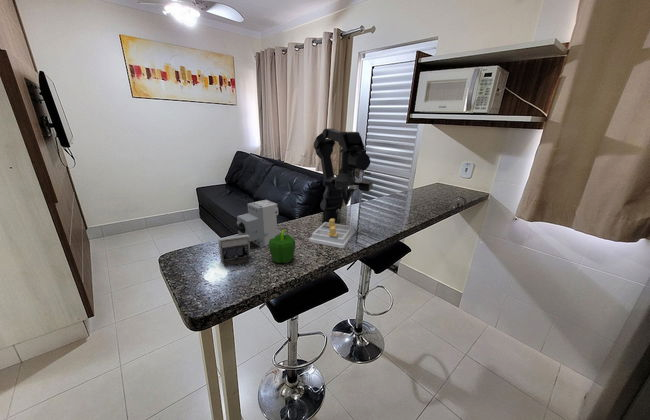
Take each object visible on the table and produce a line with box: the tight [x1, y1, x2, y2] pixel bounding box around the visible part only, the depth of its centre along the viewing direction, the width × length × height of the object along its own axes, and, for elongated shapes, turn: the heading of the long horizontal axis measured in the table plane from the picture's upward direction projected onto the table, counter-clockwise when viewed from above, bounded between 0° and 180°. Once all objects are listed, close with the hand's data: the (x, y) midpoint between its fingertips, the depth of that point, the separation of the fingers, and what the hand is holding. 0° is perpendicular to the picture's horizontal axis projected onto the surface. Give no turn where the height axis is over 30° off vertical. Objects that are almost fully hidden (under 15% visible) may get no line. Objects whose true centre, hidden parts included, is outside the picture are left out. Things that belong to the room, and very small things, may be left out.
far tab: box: [328, 218, 336, 227], centre depth 105 cm, size 3×3×4 cm
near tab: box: [328, 226, 338, 237], centre depth 97 cm, size 3×3×4 cm
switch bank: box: [308, 222, 356, 249], centre depth 101 cm, size 14×16×3 cm
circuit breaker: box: [235, 199, 280, 248], centre depth 92 cm, size 8×14×15 cm, turn 135°
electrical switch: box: [217, 235, 251, 266], centre depth 80 cm, size 9×5×9 cm, turn 113°
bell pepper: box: [268, 229, 296, 264], centre depth 82 cm, size 8×8×10 cm
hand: (346, 204), depth 102 cm, fingers closed
